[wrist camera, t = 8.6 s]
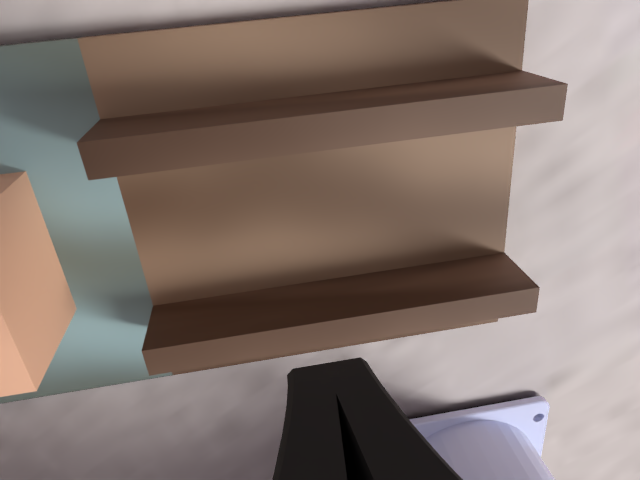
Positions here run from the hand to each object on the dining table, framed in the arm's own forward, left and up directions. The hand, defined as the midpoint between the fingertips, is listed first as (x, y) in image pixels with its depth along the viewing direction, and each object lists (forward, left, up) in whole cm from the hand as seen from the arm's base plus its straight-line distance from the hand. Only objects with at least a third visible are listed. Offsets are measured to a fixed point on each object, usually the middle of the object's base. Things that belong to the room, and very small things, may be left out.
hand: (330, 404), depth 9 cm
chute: (0, +4, -9) cm, 10 cm away
